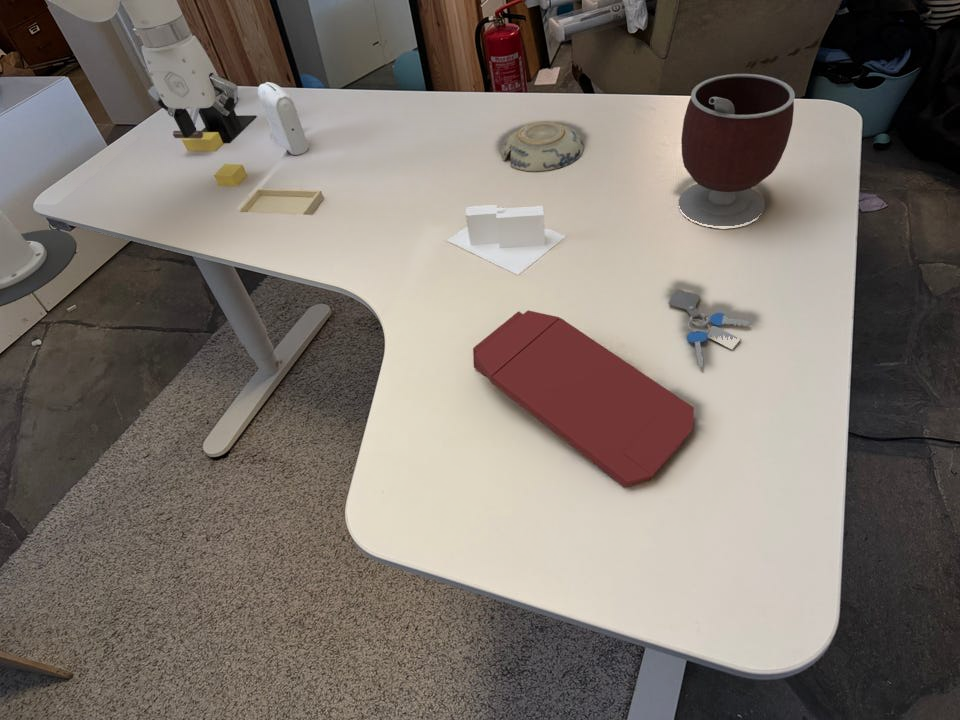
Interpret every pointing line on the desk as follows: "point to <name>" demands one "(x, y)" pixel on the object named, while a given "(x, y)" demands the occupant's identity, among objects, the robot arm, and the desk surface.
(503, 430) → the desk surface
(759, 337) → the desk surface
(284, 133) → the photo printer
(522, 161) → the decorative bowl
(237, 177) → the butter pat
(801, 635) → the desk surface
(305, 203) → the beige square tray
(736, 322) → the key chain
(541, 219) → the napkin holder
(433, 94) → the desk surface
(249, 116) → the black stand
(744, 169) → the mate gourd
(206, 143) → the butter
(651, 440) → the dark red case
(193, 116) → the grey and brown t-shape
